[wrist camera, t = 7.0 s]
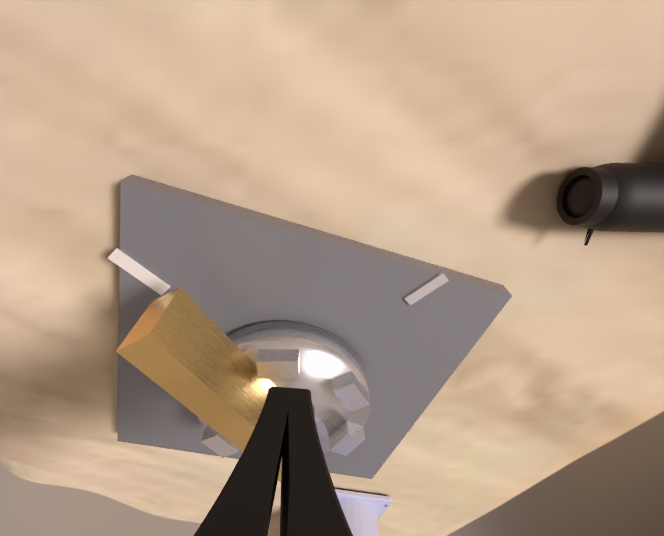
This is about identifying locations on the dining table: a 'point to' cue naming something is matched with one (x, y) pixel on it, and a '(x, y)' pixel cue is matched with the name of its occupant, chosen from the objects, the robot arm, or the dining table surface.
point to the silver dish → (248, 372)
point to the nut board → (291, 309)
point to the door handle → (614, 198)
